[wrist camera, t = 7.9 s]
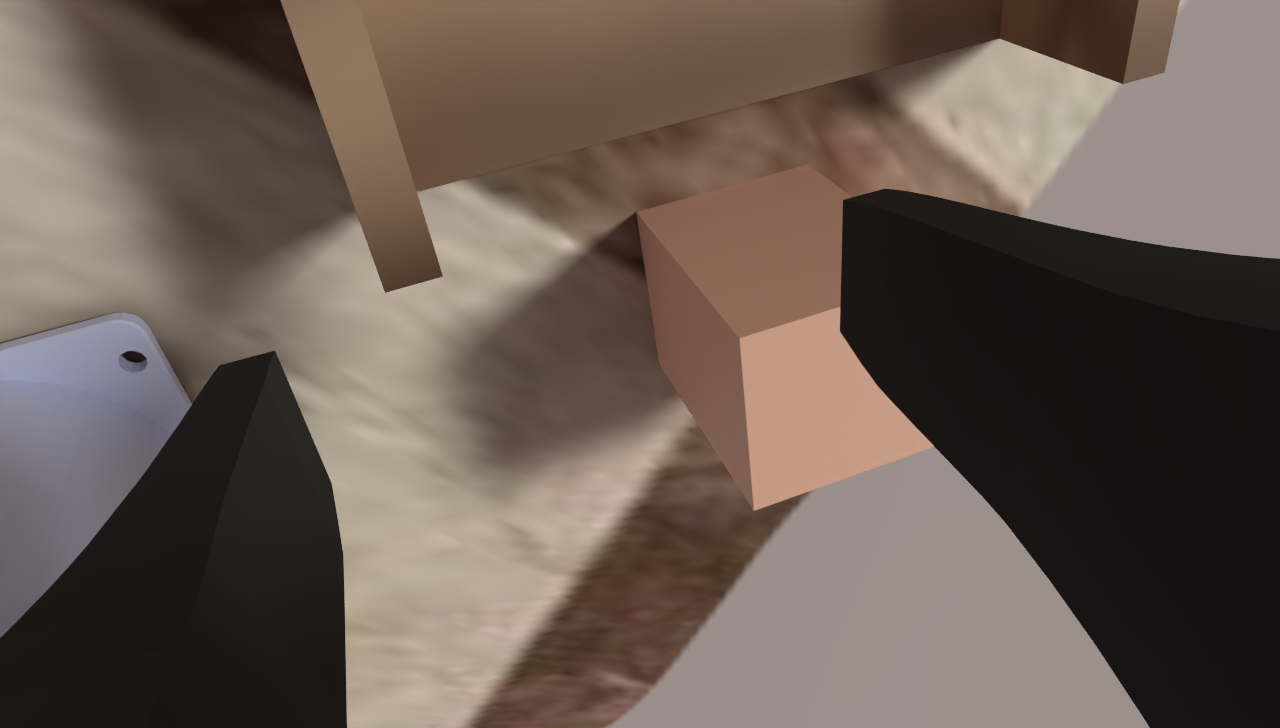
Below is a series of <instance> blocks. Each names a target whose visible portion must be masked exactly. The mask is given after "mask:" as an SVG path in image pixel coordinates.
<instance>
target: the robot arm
mask: <svg viewBox="0 0 1280 728" xmlns="http://www.w3.org/2000/svg"><path fill="white" fill-rule="evenodd" d="M840 332H841V334H842V335H843V337H844V338H845V340H846V341H847V343H848V344H849V346H850V347H851V349H852V350H853V352H854V353H855V355H856V357H857V358H858V360H859V361H860V362H861V364H862V365H863V367H864V368H865V369H866V371H867V372H868V373H869V375H870V376H871V378H872V379H873V380H874V382H875V383H876V385H877V386H878V387H879V388H880V389H881V390H882V391H883V392H884V394H885V395H886V396H887V397H888V398H889V399H890V400H891V401H892V402H893V403H894V404H895V406H896V407H897V408H898V409H899V410H900V411H901V412H902V413H903V414H904V415H905V416H906V417H907V418H908V419H909V420H910V421H911V423H912V424H913V425H914V426H915V427H916V428H917V429H918V430H919V431H920V432H921V433H922V434H923V435H924V436H925V437H926V438H927V439H928V440H929V441H930V442H931V443H932V444H933V445H934V447H935V448H936V449H937V450H938V451H940V453H941V454H942V455H943V456H944V457H945V458H946V459H947V460H948V461H949V462H950V463H951V464H952V465H953V466H954V467H955V468H956V469H957V470H958V471H959V472H960V474H961V475H963V477H964V478H965V479H966V480H967V481H968V482H969V483H970V484H971V485H972V486H973V487H974V488H975V489H976V490H977V491H978V492H979V493H980V494H981V495H982V496H983V498H984V499H985V500H986V501H987V502H988V503H989V504H990V506H991V507H992V508H993V509H994V510H995V511H996V512H997V513H998V515H1000V517H1001V518H1002V519H1003V520H1004V521H1005V523H1006V524H1007V525H1008V526H1009V528H1010V529H1011V530H1012V532H1013V533H1014V534H1015V536H1016V537H1017V538H1018V539H1019V541H1020V542H1021V543H1022V545H1023V546H1024V547H1025V548H1026V550H1027V551H1028V552H1029V554H1030V555H1031V557H1032V558H1033V559H1034V560H1035V561H1036V563H1037V564H1038V566H1039V567H1040V568H1041V570H1042V571H1043V572H1044V574H1045V575H1046V576H1047V577H1048V578H1049V580H1050V581H1051V583H1052V584H1053V586H1054V587H1055V588H1056V590H1057V591H1058V593H1059V594H1060V595H1061V597H1062V598H1063V600H1064V601H1065V602H1066V604H1067V605H1068V607H1069V608H1070V609H1071V611H1072V612H1073V614H1074V615H1075V616H1076V618H1077V619H1078V621H1079V622H1080V623H1081V625H1082V626H1083V628H1084V629H1085V631H1086V632H1087V633H1088V635H1089V636H1090V638H1091V639H1092V640H1093V642H1094V643H1095V645H1096V646H1097V648H1098V649H1099V651H1100V652H1101V654H1102V655H1103V656H1104V658H1105V660H1106V661H1107V663H1108V664H1109V666H1110V667H1111V669H1112V670H1113V672H1114V673H1115V675H1116V677H1117V678H1118V680H1119V681H1120V683H1121V684H1122V686H1123V687H1124V689H1125V690H1126V692H1127V693H1128V695H1129V696H1130V698H1131V699H1132V701H1133V702H1134V704H1135V705H1136V707H1137V708H1138V710H1139V711H1140V713H1141V714H1142V716H1143V717H1144V719H1145V721H1146V722H1147V724H1148V725H1149V727H1150V728H1280V259H1274V258H1262V257H1251V256H1240V255H1230V254H1222V253H1215V252H1207V251H1199V250H1191V249H1183V248H1176V247H1167V246H1162V245H1155V244H1149V243H1143V242H1137V241H1131V240H1126V239H1121V238H1116V237H1110V236H1105V235H1100V234H1095V233H1090V232H1085V231H1079V230H1075V229H1070V228H1066V227H1062V226H1057V225H1052V224H1048V223H1044V222H1039V221H1035V220H1031V219H1027V218H1022V217H1018V216H1014V215H1010V214H1006V213H1001V212H997V211H993V210H989V209H985V208H981V207H977V206H972V205H968V204H964V203H960V202H956V201H951V200H947V199H943V198H938V197H933V196H929V195H924V194H919V193H913V192H907V191H901V190H892V189H882V190H878V191H875V192H871V193H867V194H863V195H860V196H856V197H852V198H848V199H845V200H843V219H842V261H841V303H840ZM126 351H136V352H139V353H142V354H143V355H144V356H145V357H146V358H147V359H146V360H144V361H143V362H137V363H133V362H130V361H127V360H126V359H125V358H124V357H123V356H122V354H123V353H125V352H126ZM0 728H347V714H346V659H345V606H344V567H343V551H342V544H341V538H340V531H339V525H338V519H337V513H336V507H335V501H334V495H333V490H332V484H331V481H330V479H329V476H328V474H327V472H326V469H325V467H324V465H323V462H322V460H321V458H320V455H319V453H318V451H317V448H316V446H315V444H314V441H313V439H312V437H311V434H310V432H309V430H308V427H307V425H306V423H305V420H304V418H303V416H302V413H301V411H300V408H299V406H298V404H297V401H296V399H295V397H294V394H293V392H292V390H291V387H290V385H289V383H288V380H287V378H286V376H285V373H284V371H283V369H282V366H281V364H280V362H279V359H278V357H277V355H276V352H275V351H272V352H268V353H265V354H261V355H257V356H253V357H250V358H246V359H242V360H238V361H235V362H231V363H227V364H223V365H220V366H219V367H218V368H217V369H216V371H215V372H214V373H213V375H212V376H211V377H210V379H209V380H208V382H207V383H206V385H205V386H204V388H203V389H202V390H201V392H200V393H199V395H198V396H197V398H196V399H195V401H194V402H193V404H192V403H191V401H190V400H189V398H188V396H187V394H186V392H185V391H184V389H183V387H182V385H181V384H180V382H179V380H178V378H177V376H176V375H175V373H174V371H173V369H172V367H171V366H170V364H169V362H168V360H167V358H166V357H165V355H164V353H163V351H162V349H161V348H160V346H159V344H158V342H157V340H156V339H155V337H154V335H153V333H152V331H151V330H150V328H149V326H148V325H147V324H146V323H145V322H144V321H143V319H141V318H139V317H137V316H135V315H133V314H128V313H123V312H121V313H112V314H108V315H104V316H101V317H97V318H93V319H90V320H86V321H82V322H79V323H75V324H71V325H68V326H64V327H60V328H57V329H53V330H49V331H45V332H42V333H38V334H34V335H31V336H27V337H23V338H20V339H16V340H12V341H9V342H5V343H1V344H0Z"/></svg>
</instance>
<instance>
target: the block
mask: <svg viewBox="0 0 1280 728" xmlns="http://www.w3.org/2000/svg"><path fill="white" fill-rule="evenodd" d="M848 198H852V196H850V195H849V194H848V193H846V192H845V191H843V190H842V189H841V188H839V187H838V186H837V185H835V184H834V183H833V182H831V181H830V180H829V179H827V178H826V177H824V176H823V175H822V174H820V173H819V172H818V171H816V170H815V169H814V168H812V167H811V166H810V165H808V164H807V165H804V166H800V167H797V168H793V169H789V170H786V171H782V172H779V173H775V174H771V175H768V176H764V177H761V178H757V179H753V180H750V181H746V182H743V183H739V184H735V185H732V186H728V187H725V188H721V189H717V190H714V191H710V192H707V193H703V194H700V195H696V196H692V197H689V198H685V199H682V200H678V201H674V202H671V203H667V204H664V205H660V206H656V207H653V208H649V209H646V210H642V211H638V212H636V214H637V220H638V227H639V234H640V240H641V247H642V253H643V260H644V267H645V273H646V280H647V286H648V293H649V300H650V306H651V313H652V320H653V326H654V333H655V339H656V346H657V353H658V359H659V365H660V366H661V368H662V369H663V371H664V372H665V374H666V375H667V377H668V378H669V380H670V382H671V383H672V385H673V386H674V388H675V389H676V391H677V392H678V394H679V396H680V397H681V399H682V400H683V402H684V403H685V405H686V406H687V408H688V409H689V411H690V413H691V414H692V416H693V417H694V419H695V420H696V422H697V423H698V425H699V426H700V428H701V430H702V431H703V433H704V434H705V436H706V437H707V439H708V440H709V442H710V444H711V445H712V447H713V448H714V450H715V451H716V453H717V454H718V456H719V457H720V459H721V461H722V462H723V464H724V465H725V467H726V468H727V470H728V471H729V473H730V474H731V476H732V478H733V479H734V481H735V482H736V484H737V485H738V487H739V488H740V490H741V492H742V493H743V495H744V496H745V498H746V499H747V501H748V502H749V504H750V505H751V507H752V509H753V510H754V511H755V510H757V509H760V508H763V507H766V506H769V505H772V504H774V503H777V502H780V501H783V500H786V499H788V498H791V497H794V496H797V495H800V494H803V493H805V492H808V491H811V490H814V489H817V488H819V487H822V486H825V485H828V484H831V483H834V482H836V481H839V480H842V479H845V478H847V477H850V476H853V475H856V474H859V473H862V472H865V471H867V470H870V469H873V468H876V467H878V466H881V465H884V464H887V463H890V462H893V461H896V460H898V459H901V458H904V457H907V456H909V455H912V454H915V453H918V452H921V451H924V450H927V449H929V448H932V447H934V445H933V444H932V443H931V442H930V441H929V440H928V439H927V438H926V437H925V436H924V435H923V434H922V433H921V432H920V431H919V430H918V429H917V428H916V427H915V426H914V425H913V424H912V423H911V421H910V420H909V419H908V418H907V417H906V416H905V415H904V414H903V413H902V412H901V411H900V410H899V409H898V408H897V407H896V406H895V404H894V403H893V402H892V401H891V400H890V399H889V398H888V397H887V396H886V395H885V394H884V392H883V391H882V390H881V389H880V388H879V387H878V386H877V385H876V383H875V382H874V380H873V379H872V378H871V376H870V375H869V373H868V372H867V371H866V369H865V368H864V367H863V365H862V364H861V362H860V361H859V360H858V358H857V357H856V355H855V353H854V352H853V350H852V349H851V347H850V346H849V344H848V343H847V341H846V340H845V338H844V337H843V335H842V334H841V332H840V303H841V261H842V219H843V200H845V199H848Z"/></svg>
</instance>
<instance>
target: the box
mask: <svg viewBox="0 0 1280 728" xmlns="http://www.w3.org/2000/svg"><path fill="white" fill-rule="evenodd" d="M280 1H281V3H282V6H283V9H284V12H285V15H286V17H287V20H288V23H289V26H290V28H291V31H292V34H293V37H294V40H295V42H296V45H297V48H298V51H299V54H300V56H301V59H302V62H303V65H304V68H305V70H306V73H307V76H308V79H309V81H310V84H311V87H312V90H313V93H314V95H315V98H316V101H317V104H318V107H319V109H320V112H321V115H322V118H323V121H324V123H325V126H326V129H327V132H328V134H329V137H330V140H331V143H332V146H333V148H334V151H335V154H336V157H337V160H338V162H339V165H340V168H341V171H342V174H343V176H344V179H345V182H346V185H347V187H348V190H349V193H350V196H351V199H352V201H353V204H354V207H355V210H356V213H357V215H358V218H359V221H360V224H361V227H362V229H363V232H364V235H365V238H366V240H367V243H368V246H369V249H370V252H371V254H372V257H373V260H374V263H375V266H376V268H377V271H378V274H379V277H380V280H381V282H382V285H383V288H384V291H385V293H386V292H389V291H393V290H396V289H400V288H403V287H407V286H410V285H414V284H417V283H421V282H425V281H428V280H432V279H435V278H439V277H442V273H441V269H440V266H439V263H438V260H437V256H436V253H435V250H434V247H433V243H432V240H431V237H430V234H429V231H428V227H427V224H426V221H425V218H424V214H423V211H422V208H421V205H420V201H419V198H418V195H417V191H421V190H425V189H429V188H432V187H436V186H440V185H444V184H448V183H451V182H455V181H459V180H463V179H467V178H470V177H474V176H478V175H482V174H486V173H489V172H493V171H497V170H501V169H505V168H508V167H512V166H516V165H520V164H524V163H527V162H531V161H535V160H539V159H543V158H546V157H550V156H554V155H558V154H562V153H565V152H569V151H573V150H577V149H581V148H584V147H588V146H592V145H596V144H600V143H603V142H607V141H611V140H615V139H619V138H622V137H626V136H630V135H634V134H638V133H641V132H645V131H649V130H653V129H657V128H660V127H664V126H668V125H672V124H676V123H679V122H683V121H687V120H691V119H695V118H698V117H702V116H706V115H710V114H714V113H717V112H721V111H725V110H729V109H733V108H736V107H740V106H744V105H748V104H752V103H755V102H759V101H763V100H767V99H771V98H774V97H778V96H782V95H786V94H790V93H793V92H797V91H801V90H805V89H809V88H812V87H816V86H820V85H824V84H828V83H831V82H835V81H839V80H843V79H847V78H850V77H854V76H858V75H862V74H866V73H869V72H873V71H877V70H881V69H885V68H888V67H892V66H896V65H900V64H904V63H907V62H911V61H915V60H919V59H923V58H926V57H930V56H934V55H938V54H942V53H945V52H949V51H953V50H957V49H961V48H964V47H968V46H972V45H976V44H980V43H983V42H987V41H991V40H995V39H999V38H1000V39H1003V40H1005V41H1008V42H1011V43H1013V44H1016V45H1019V46H1021V47H1024V48H1027V49H1030V50H1032V51H1035V52H1038V53H1040V54H1043V55H1046V56H1049V57H1051V58H1054V59H1057V60H1059V61H1062V62H1065V63H1067V64H1070V65H1073V66H1076V67H1078V68H1081V69H1084V70H1086V71H1089V72H1092V73H1094V74H1097V75H1100V76H1103V77H1105V78H1108V79H1111V80H1113V81H1116V82H1119V83H1122V84H1125V83H1129V82H1132V81H1136V80H1139V79H1143V78H1146V77H1150V76H1153V75H1157V74H1161V73H1164V71H1165V66H1166V62H1167V57H1168V52H1169V48H1170V43H1171V38H1172V33H1173V29H1174V24H1175V19H1176V15H1177V10H1178V5H1179V1H1180V0H280Z"/></svg>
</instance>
